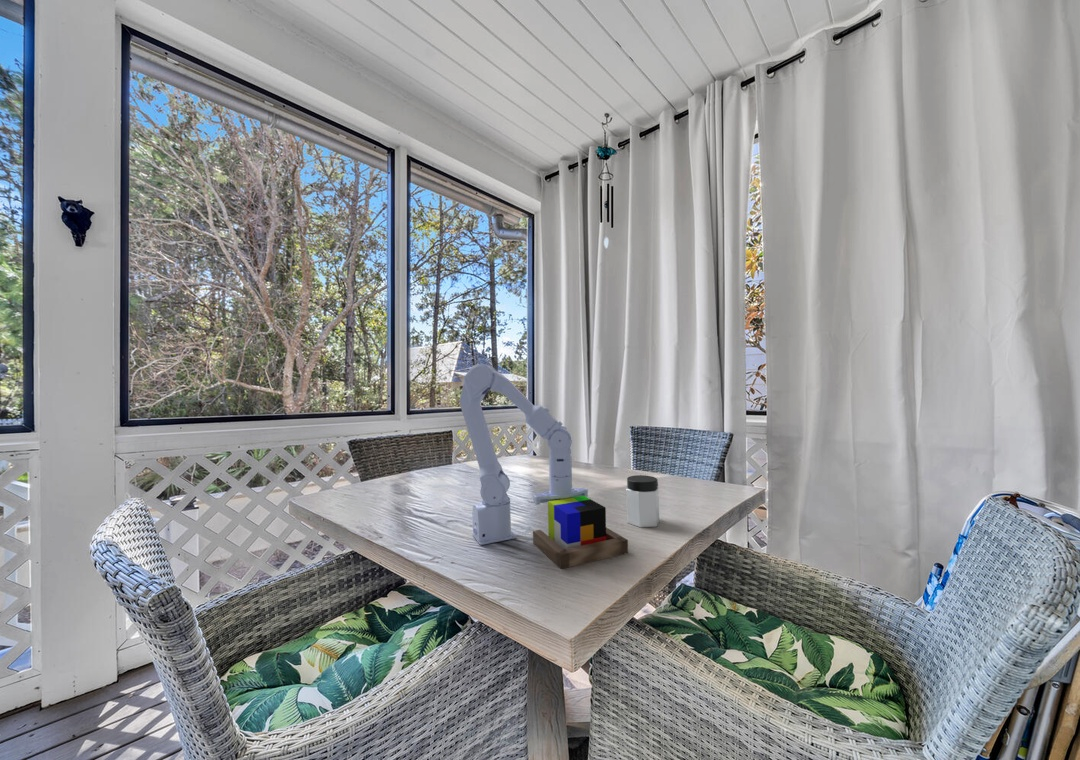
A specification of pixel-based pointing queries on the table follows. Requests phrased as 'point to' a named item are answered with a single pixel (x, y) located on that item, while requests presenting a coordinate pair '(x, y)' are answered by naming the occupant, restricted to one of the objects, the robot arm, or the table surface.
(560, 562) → the walnut frame
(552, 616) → the table surface
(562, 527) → the puzzle toy
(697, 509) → the table surface
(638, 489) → the jar
